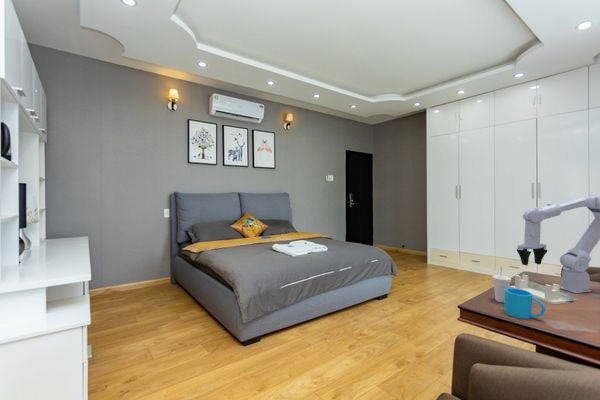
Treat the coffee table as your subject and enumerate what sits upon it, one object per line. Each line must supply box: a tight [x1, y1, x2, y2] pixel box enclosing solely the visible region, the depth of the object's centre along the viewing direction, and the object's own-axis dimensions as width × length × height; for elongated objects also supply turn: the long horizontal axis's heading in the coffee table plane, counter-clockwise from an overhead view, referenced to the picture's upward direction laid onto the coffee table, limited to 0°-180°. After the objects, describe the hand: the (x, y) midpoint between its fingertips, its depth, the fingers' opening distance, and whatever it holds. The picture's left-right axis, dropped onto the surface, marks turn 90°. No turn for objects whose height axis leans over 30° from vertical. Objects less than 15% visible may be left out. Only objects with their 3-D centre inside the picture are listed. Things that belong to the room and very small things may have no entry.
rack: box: [509, 273, 567, 305], centre depth 126 cm, size 6×19×7 cm, turn 13°
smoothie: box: [492, 266, 512, 303], centre depth 120 cm, size 6×6×14 cm
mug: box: [503, 287, 546, 319], centre depth 106 cm, size 12×8×8 cm
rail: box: [528, 280, 575, 302], centre depth 128 cm, size 2×18×2 cm, turn 13°
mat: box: [528, 287, 578, 303], centre depth 128 cm, size 7×17×1 cm, turn 13°
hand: (531, 264), depth 137 cm, fingers open, 7 cm apart
